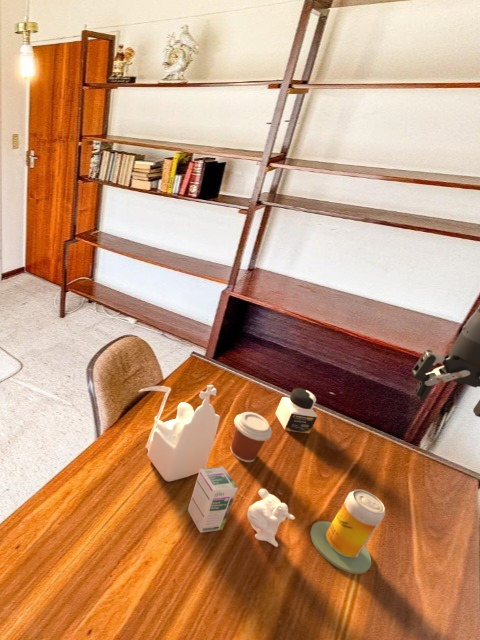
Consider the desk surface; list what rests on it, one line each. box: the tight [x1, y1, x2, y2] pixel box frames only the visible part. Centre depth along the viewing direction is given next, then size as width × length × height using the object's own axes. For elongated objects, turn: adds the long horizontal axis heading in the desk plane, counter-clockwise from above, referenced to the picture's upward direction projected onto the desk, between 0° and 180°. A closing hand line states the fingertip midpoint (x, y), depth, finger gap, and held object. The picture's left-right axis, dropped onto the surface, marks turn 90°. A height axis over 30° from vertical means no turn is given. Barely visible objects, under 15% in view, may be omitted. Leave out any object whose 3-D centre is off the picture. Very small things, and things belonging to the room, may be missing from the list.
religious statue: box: [138, 384, 221, 482], centre depth 102 cm, size 17×14×30 cm
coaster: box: [309, 520, 372, 575], centre depth 88 cm, size 11×11×1 cm
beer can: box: [326, 489, 386, 557], centre depth 85 cm, size 6×6×15 cm
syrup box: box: [187, 465, 238, 534], centre depth 90 cm, size 6×6×14 cm
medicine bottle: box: [275, 387, 318, 434], centre depth 119 cm, size 7×7×12 cm
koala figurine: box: [246, 488, 296, 548], centre depth 88 cm, size 8×7×12 cm
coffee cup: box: [229, 411, 273, 463], centre depth 109 cm, size 9×9×12 cm
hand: (448, 405), depth 79 cm, fingers open, 8 cm apart
